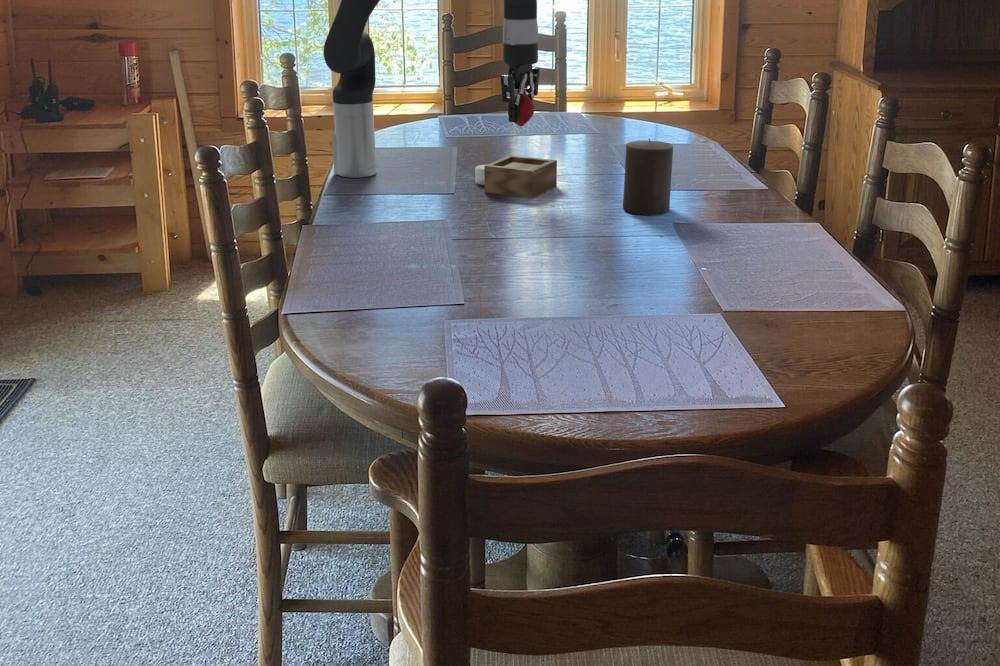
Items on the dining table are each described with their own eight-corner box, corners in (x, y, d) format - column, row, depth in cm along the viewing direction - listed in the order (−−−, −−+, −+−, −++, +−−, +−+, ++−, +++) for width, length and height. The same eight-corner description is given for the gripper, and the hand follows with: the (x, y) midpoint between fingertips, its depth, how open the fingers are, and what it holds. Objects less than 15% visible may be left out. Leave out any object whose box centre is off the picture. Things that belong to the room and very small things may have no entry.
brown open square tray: (484, 192, 236) (484, 165, 234) (509, 180, 246) (509, 155, 244) (532, 198, 231) (533, 171, 229) (556, 186, 241) (556, 160, 239)
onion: (531, 129, 230) (531, 92, 227) (505, 128, 231) (505, 91, 228) (535, 124, 235) (536, 87, 232) (510, 123, 236) (510, 87, 233)
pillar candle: (640, 218, 216) (644, 144, 210) (613, 206, 224) (617, 136, 218) (679, 212, 220) (684, 140, 214) (651, 201, 228) (655, 132, 222)
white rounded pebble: (470, 183, 244) (470, 168, 243) (483, 178, 249) (483, 163, 248) (493, 186, 242) (493, 171, 240) (506, 181, 247) (505, 166, 245)
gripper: (520, 36, 234) (520, 112, 240) (488, 43, 222) (489, 123, 228) (550, 37, 231) (550, 115, 237) (520, 45, 219) (520, 126, 225)
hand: (520, 119), depth 233 cm, fingers closed on onion, 6 cm apart
